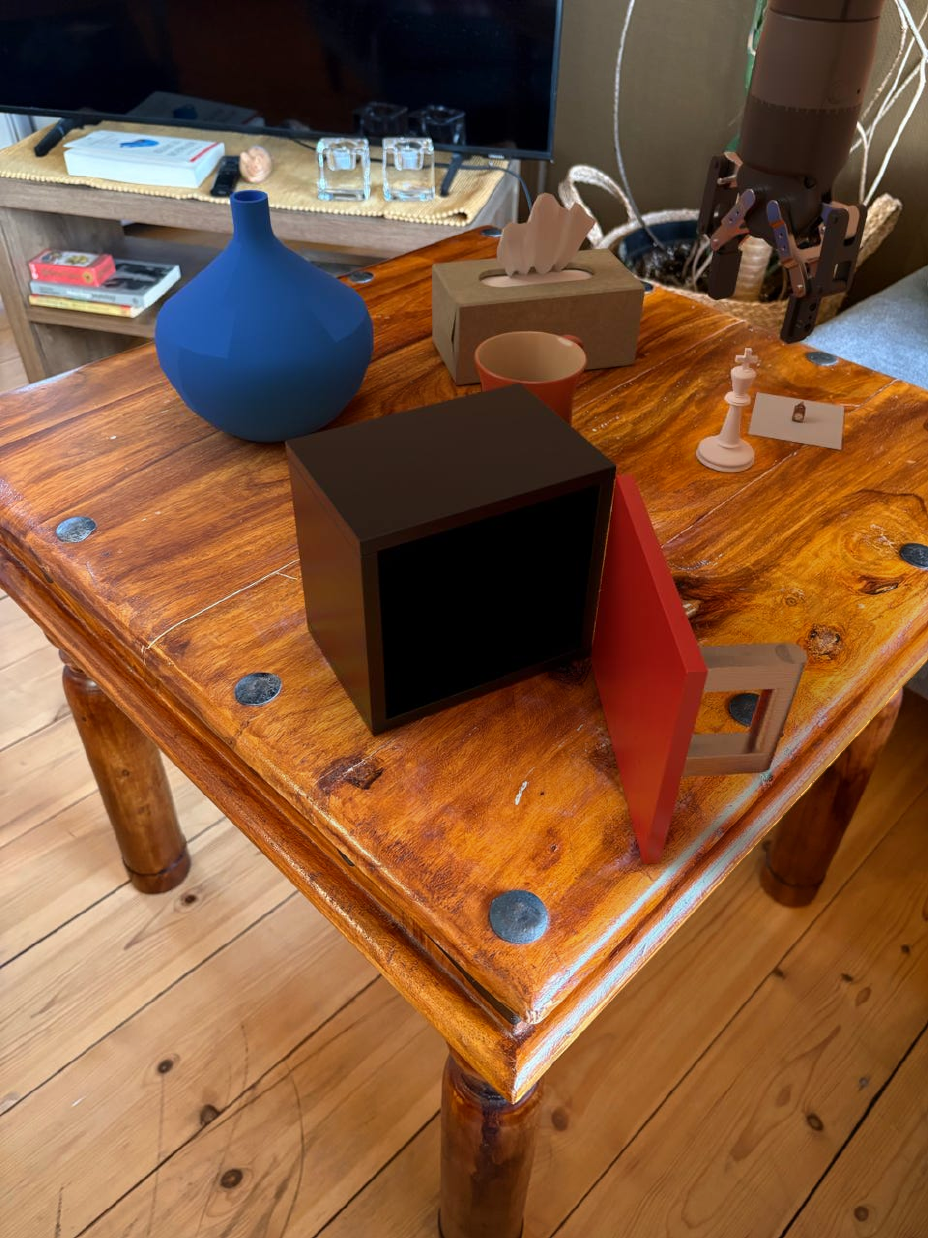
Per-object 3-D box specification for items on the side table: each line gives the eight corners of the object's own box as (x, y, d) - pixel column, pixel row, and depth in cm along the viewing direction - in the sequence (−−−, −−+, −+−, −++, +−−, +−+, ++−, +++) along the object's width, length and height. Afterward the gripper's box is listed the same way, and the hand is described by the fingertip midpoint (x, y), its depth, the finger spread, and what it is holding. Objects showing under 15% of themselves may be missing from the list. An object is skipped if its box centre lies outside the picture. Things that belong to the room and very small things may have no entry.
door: (690, 656, 66) (733, 470, 57) (764, 856, 54) (834, 665, 45) (590, 660, 66) (615, 474, 56) (642, 864, 54) (687, 672, 44)
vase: (402, 448, 86) (396, 224, 73) (188, 486, 81) (141, 253, 68) (347, 354, 98) (334, 150, 86) (159, 382, 94) (115, 170, 81)
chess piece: (759, 473, 83) (787, 364, 77) (700, 472, 83) (723, 363, 77) (747, 442, 87) (773, 335, 81) (691, 441, 87) (712, 334, 81)
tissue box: (453, 386, 94) (455, 216, 83) (429, 341, 101) (427, 179, 90) (638, 365, 98) (661, 200, 87) (602, 322, 105) (620, 165, 94)
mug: (539, 510, 79) (549, 394, 72) (451, 473, 83) (452, 360, 76) (612, 446, 86) (627, 335, 80) (528, 415, 90) (535, 307, 83)
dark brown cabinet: (591, 655, 67) (617, 465, 57) (372, 737, 61) (359, 541, 51) (509, 564, 74) (520, 381, 64) (307, 629, 68) (284, 440, 58)
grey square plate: (748, 433, 88) (752, 415, 87) (756, 392, 94) (761, 374, 93) (841, 449, 86) (846, 431, 85) (844, 406, 92) (849, 388, 91)
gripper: (929, 109, 63) (857, 346, 74) (777, 58, 72) (733, 275, 83) (841, 123, 60) (779, 367, 71) (695, 69, 69) (660, 292, 80)
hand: (754, 317), depth 77 cm, fingers open, 8 cm apart
